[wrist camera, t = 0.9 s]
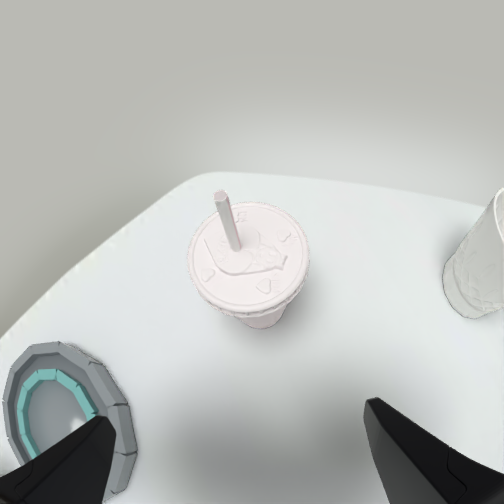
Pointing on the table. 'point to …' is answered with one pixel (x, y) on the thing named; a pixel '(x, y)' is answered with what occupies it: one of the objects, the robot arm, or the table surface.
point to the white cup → (479, 265)
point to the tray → (65, 405)
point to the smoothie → (248, 260)
